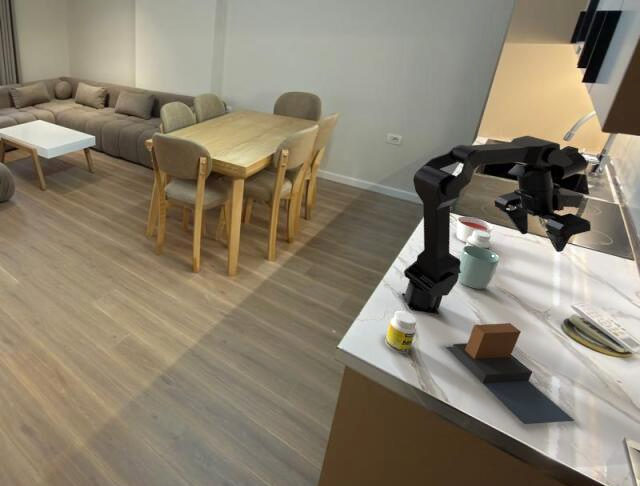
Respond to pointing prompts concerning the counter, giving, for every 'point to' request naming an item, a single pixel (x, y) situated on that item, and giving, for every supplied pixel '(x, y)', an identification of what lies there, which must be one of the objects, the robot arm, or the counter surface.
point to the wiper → (492, 354)
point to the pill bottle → (479, 239)
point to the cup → (477, 266)
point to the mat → (526, 401)
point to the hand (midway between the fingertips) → (541, 242)
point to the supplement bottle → (401, 332)
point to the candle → (471, 227)
